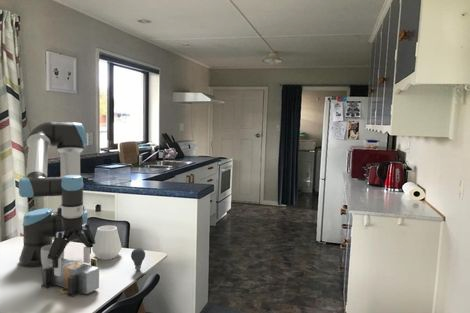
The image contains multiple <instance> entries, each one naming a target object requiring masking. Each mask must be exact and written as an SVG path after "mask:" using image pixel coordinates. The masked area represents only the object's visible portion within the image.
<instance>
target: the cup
mask: <svg viewBox="0 0 470 313" xmlns="http://www.w3.org/2000/svg"><path fill="white" fill-rule="evenodd" d="M94 240H95V244H93V247H91V251H92V252H93V254H94V255H95V257H96V259H97V260H104V261H105V260H106V261H107V260H111V259H112V258H113V259H114V258H117V256H118V255H119V253H120V252H121V250H122V243H121V239H120V235H119V232H118V227H117V226H116V225H102V226H101V225H100V226H99V227H97V229H96V233H95V237H94Z"/></svg>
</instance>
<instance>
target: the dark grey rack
mask: <svg viewBox="0 0 470 313" xmlns="http://www.w3.org/2000/svg"><path fill="white" fill-rule="evenodd" d="M90 266H94V267H98V258H93V257H90ZM41 274H42V275H41V277H42V279H41V281H42V282H41V283H42V284H41V287H42V288H44V289H45V290H47V289H49V288H51V287H53V286H56V285H55V284H52V283H50V269H49V268H45V269H43V268H42V269H41ZM56 293H58V294H60V295H64V294H66V296H67V297H71V298H74V297H76V296H78V295H80V294H82V293H81V292H78V291H76V276H70V277H68V288H65V287H63V288H62V289H60V290H58V291H56Z"/></svg>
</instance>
